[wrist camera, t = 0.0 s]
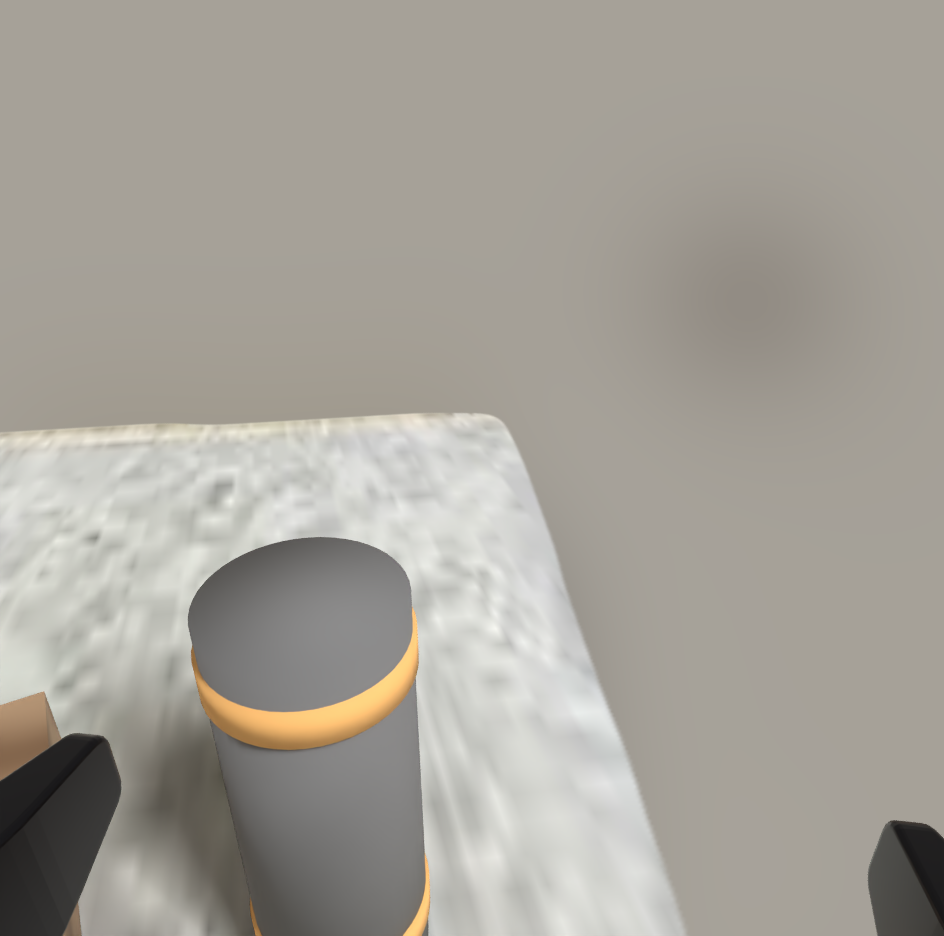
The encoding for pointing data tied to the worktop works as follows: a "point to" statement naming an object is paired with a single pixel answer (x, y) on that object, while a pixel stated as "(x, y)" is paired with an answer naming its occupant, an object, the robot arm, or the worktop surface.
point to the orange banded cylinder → (318, 734)
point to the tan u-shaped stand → (29, 747)
